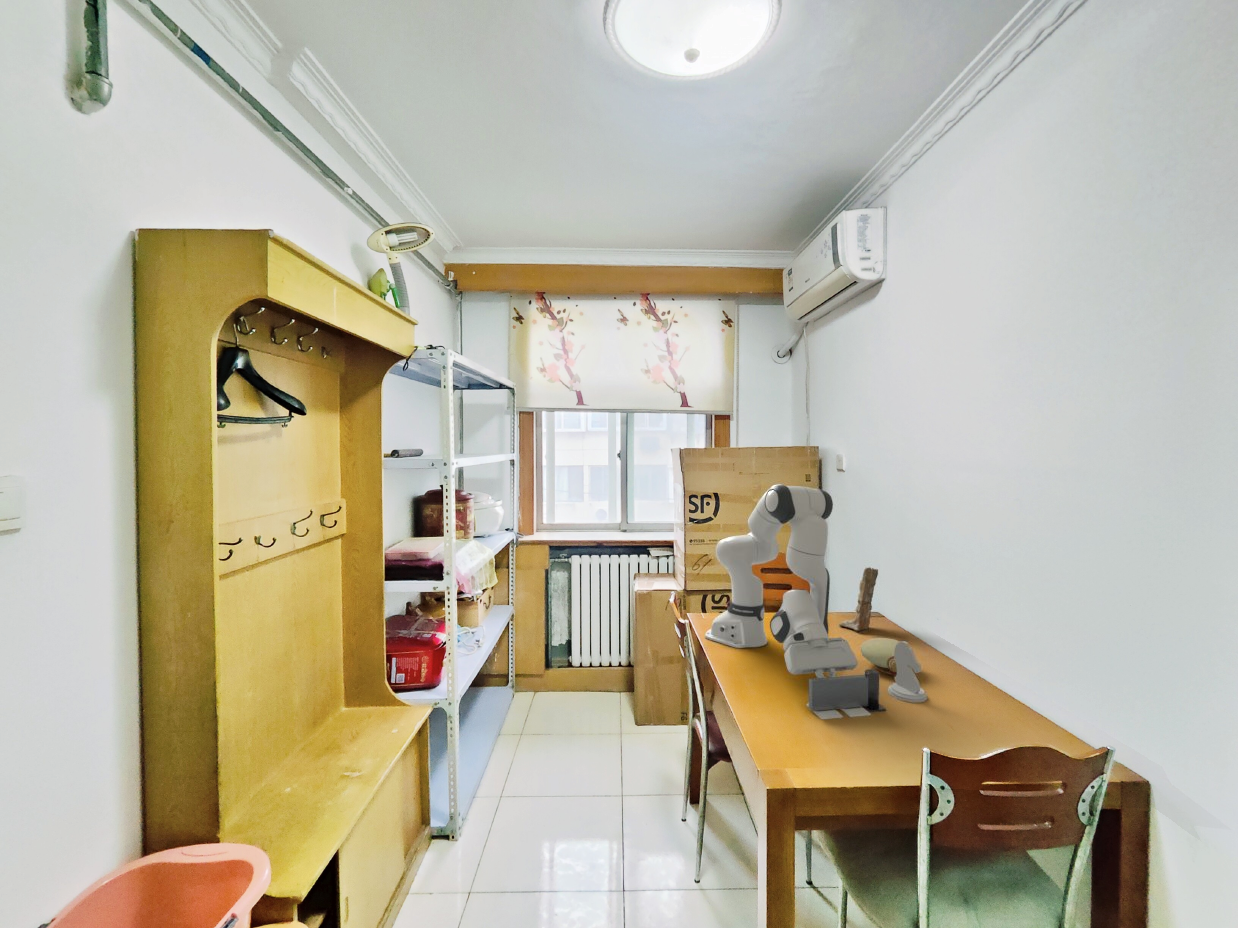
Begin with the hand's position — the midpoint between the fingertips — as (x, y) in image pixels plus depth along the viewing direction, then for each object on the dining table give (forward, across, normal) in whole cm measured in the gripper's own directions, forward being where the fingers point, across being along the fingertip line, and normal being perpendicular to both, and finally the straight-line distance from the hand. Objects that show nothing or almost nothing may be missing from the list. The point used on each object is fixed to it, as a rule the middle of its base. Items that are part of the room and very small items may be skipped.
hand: (830, 686), depth 148 cm
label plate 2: (+6, -4, -1) cm, 7 cm away
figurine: (-37, -45, -44) cm, 73 cm away
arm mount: (+6, -10, -1) cm, 12 cm away
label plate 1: (+6, +4, -1) cm, 7 cm away
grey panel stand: (+5, -2, 0) cm, 6 cm away
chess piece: (+2, -25, -5) cm, 25 cm away
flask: (-9, -30, -16) cm, 35 cm away
